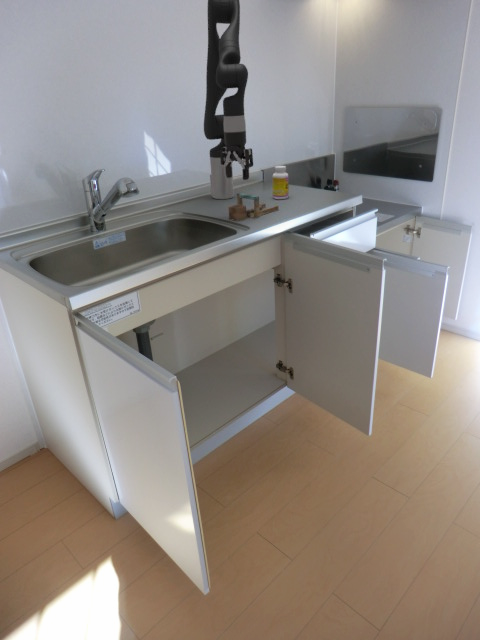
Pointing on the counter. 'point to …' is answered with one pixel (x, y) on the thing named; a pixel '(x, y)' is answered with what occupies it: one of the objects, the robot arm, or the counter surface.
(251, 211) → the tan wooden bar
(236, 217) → the walnut cube
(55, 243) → the counter surface
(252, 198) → the rail channel with trap bar
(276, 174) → the supplement bottle
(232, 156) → the robot arm
